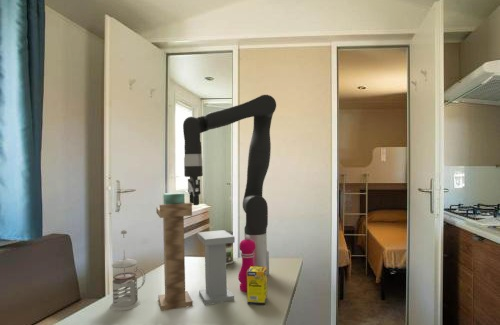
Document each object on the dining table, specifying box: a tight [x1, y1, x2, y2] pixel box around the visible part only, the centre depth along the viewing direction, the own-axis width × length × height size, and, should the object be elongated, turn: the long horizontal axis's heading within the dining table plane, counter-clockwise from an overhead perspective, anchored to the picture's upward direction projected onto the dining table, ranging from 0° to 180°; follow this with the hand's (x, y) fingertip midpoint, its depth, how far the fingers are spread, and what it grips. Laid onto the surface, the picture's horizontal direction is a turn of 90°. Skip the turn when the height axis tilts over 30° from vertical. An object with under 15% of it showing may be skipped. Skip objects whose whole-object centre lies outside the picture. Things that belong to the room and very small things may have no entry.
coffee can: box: [225, 230, 234, 266], centre depth 166 cm, size 10×10×14 cm
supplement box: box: [246, 266, 268, 306], centre depth 117 cm, size 6×6×11 cm
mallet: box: [162, 192, 186, 204], centre depth 122 cm, size 6×21×5 cm, turn 20°
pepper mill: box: [237, 235, 256, 293], centre depth 129 cm, size 7×7×20 cm
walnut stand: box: [155, 202, 194, 311], centre depth 117 cm, size 10×13×34 cm
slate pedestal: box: [196, 229, 236, 306], centre depth 121 cm, size 10×13×22 cm
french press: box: [109, 229, 146, 311], centre depth 117 cm, size 10×12×25 cm
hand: (194, 204), depth 145 cm, fingers open, 8 cm apart
